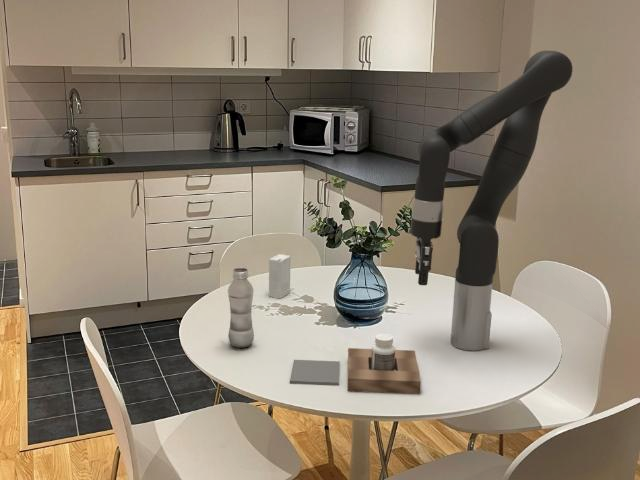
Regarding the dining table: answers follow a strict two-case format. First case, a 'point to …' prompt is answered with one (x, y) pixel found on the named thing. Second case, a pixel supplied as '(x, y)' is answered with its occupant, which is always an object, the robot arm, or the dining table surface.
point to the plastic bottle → (240, 309)
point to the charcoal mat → (315, 372)
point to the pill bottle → (383, 353)
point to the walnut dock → (383, 373)
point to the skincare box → (279, 276)
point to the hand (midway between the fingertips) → (420, 279)
